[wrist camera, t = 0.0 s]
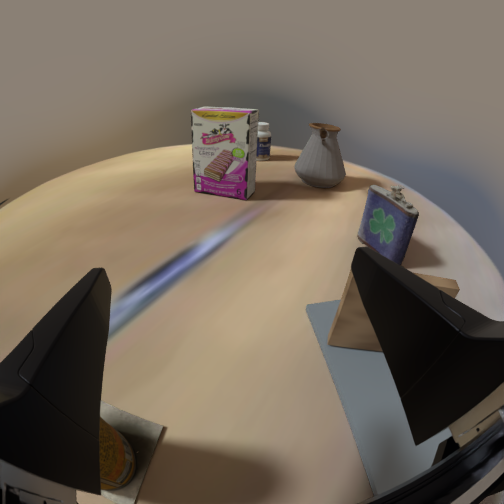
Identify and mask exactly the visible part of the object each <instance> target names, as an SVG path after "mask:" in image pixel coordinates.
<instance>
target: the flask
mask: <svg viewBox="0 0 504 504" xmlns="http://www.w3.org/2000/svg"><path fill="white" fill-rule="evenodd" d="M400 187H401V188H400ZM391 189H392V190H393V191H391V192H389V191H388V190H386V189H384V188H382V187H379V186H377V185H371V186H370V187H369V190H368V197H367V201H366V206H365V210H364V213H363V217H362V221H361V225H360V228H359V231H358V235H357V236H358V239H359V240H360V242H361V243H364V244H365V245H366V246H367V247H368V248H370V249H372V250H374V251H376V252H377V253H379V254H381V255H383V256H385V257H386V258H388V259H390V260H392V261H393V262H395V263H397V264H398V265H400V266H401V264H402V261H403V259H404V257H405V254H406V251H407V248H408V245H409V242H410V239H411V236H412V233H413V230H414V228H415V225H416V222H417V219H418V216H419V212H418V210H417V209H415V208H414V207H413V205H412V204H411V203H410V202H409V203H410V204H409V203H408V202H406V200H405V199H404V198H405V197H404V195H403V194H402V193H400V191H401V189H404V187H402V186H399V185H398V186H391Z"/></svg>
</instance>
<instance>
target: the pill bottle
mask: <svg viewBox="0 0 504 504" xmlns="http://www.w3.org/2000/svg"><path fill="white" fill-rule="evenodd" d="M268 129H269V124H268V123H264V122H258V135H257V157H256V161H265V160H268V159H269V158H270V145H271V133H270V132H269V131H268Z"/></svg>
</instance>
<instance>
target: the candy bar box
mask: <svg viewBox="0 0 504 504" xmlns="http://www.w3.org/2000/svg"><path fill="white" fill-rule="evenodd" d="M258 116H259V110H255V109H243V108H227V107H201V108H197V109H193V110H191V123H192V124H191V126H192V152H193V173H194V191H195V192H201V193H208V194H214V195H219V196H225V197H231V198H237V199H242V200H247V199H248V198H249V197H250V196H251V195H252V194H253V192H254V191H255V178H256V157H257V135H258Z"/></svg>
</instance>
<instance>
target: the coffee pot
mask: <svg viewBox="0 0 504 504" xmlns="http://www.w3.org/2000/svg"><path fill="white" fill-rule="evenodd" d="M309 126H310V127H311V130H312V132H313V134H312V136H311V137H310V139H309V141H308V143H307V144H306V146H305V148H304V149H303V151H302V153H301V155H300V156H299V158H298V160H297V162H296V163H295V171H296V173H297V175H298V176H299V177H300V178H301V179H302V181H303V182H304V183H306V184H308V185H311V186H314V187H320V188H331V187H334V186H335V185H336V184H338V183H340V182H341V181H342V180H343V179H344V177H345V175H346V173H345V168H344V164H343V160H342V157H341V153H340V149H339V146H338V142H337V139H336V137H337V134H338V131H340V128H339V127H336V126H333V125H328V124H321V123H311V124H309Z"/></svg>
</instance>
